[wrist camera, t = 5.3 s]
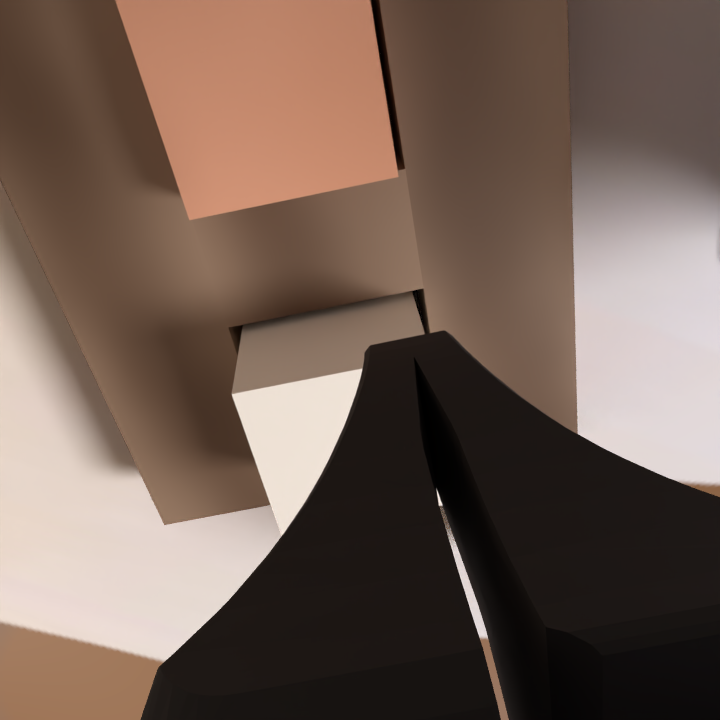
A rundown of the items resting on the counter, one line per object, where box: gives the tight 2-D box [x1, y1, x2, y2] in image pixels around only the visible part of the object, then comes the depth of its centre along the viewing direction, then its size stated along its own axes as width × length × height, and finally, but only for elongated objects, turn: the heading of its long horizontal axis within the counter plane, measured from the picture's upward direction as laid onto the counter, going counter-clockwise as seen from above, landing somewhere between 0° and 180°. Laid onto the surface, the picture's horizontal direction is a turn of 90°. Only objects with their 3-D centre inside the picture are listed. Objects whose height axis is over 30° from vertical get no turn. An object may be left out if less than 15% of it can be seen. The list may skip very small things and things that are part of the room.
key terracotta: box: [115, 0, 398, 220], centre depth 16 cm, size 5×5×4 cm
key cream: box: [232, 291, 442, 535], centre depth 20 cm, size 5×5×4 cm
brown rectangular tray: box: [0, 0, 577, 525], centre depth 17 cm, size 14×26×2 cm, turn 11°
